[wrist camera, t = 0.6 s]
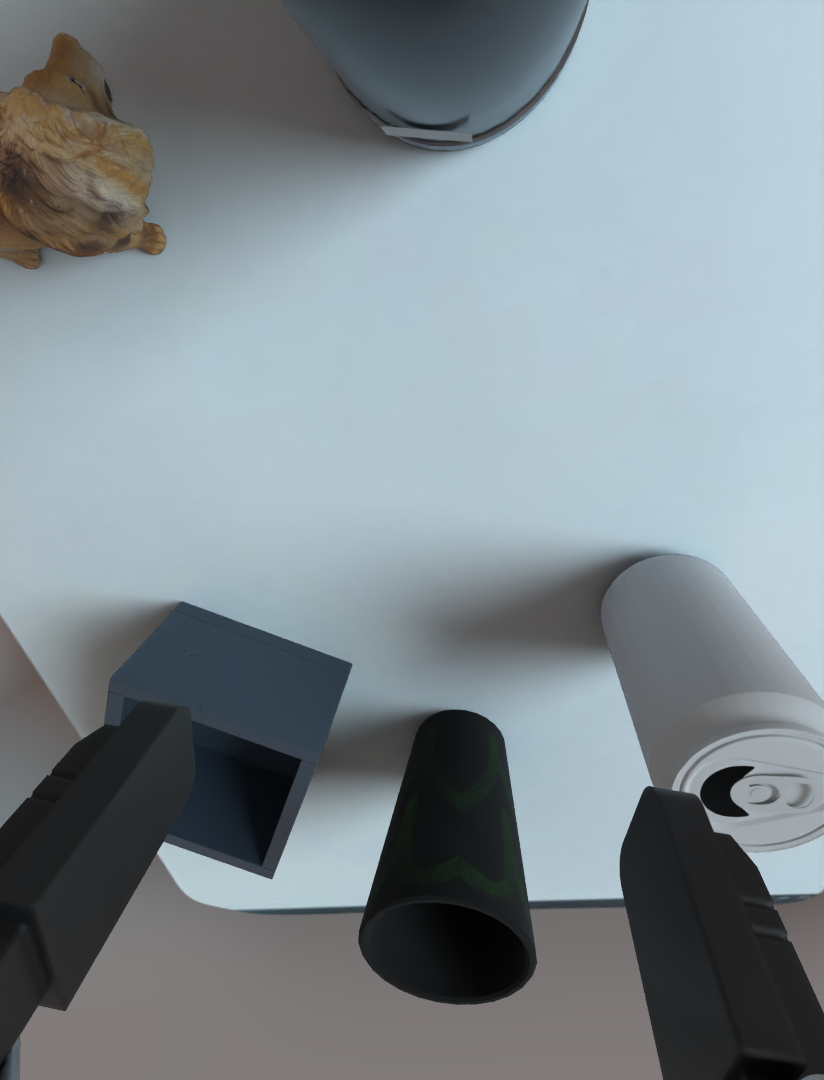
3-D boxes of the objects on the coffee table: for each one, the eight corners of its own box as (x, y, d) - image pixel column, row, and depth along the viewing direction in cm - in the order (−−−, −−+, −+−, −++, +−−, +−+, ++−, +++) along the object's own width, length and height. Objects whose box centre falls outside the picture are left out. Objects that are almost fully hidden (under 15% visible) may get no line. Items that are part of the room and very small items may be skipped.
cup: (511, 798, 36) (519, 1019, 26) (394, 778, 37) (354, 987, 26) (532, 706, 33) (552, 917, 22) (403, 686, 34) (362, 883, 23)
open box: (182, 600, 33) (109, 678, 27) (352, 663, 33) (320, 754, 27) (158, 725, 38) (91, 816, 31) (308, 779, 38) (271, 879, 32)
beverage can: (596, 553, 28) (659, 726, 18) (734, 540, 27) (893, 718, 16) (599, 656, 31) (656, 862, 20) (726, 649, 30) (858, 864, 19)
